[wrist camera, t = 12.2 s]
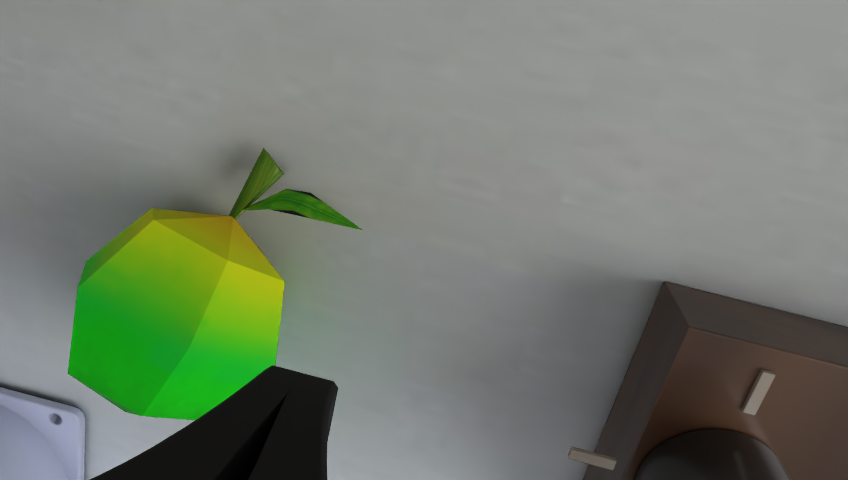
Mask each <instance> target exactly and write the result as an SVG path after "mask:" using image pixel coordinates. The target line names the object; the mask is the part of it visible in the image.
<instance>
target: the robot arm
mask: <svg viewBox="0 0 848 480" xmlns="http://www.w3.org/2000/svg"><path fill="white" fill-rule="evenodd" d="M337 391H338V387H337V386H336V384H335V383H334V381H330V380H326V379H323V378H319V377H315V376H311V375H307V374H303V373H300V372H296V371H292V370H288V369H284V368H281V367H277V366H273V365H272V366H270V367H269V368H267V369H265V370H264V371H263V372H261V373H260V374H259V375H258V376H256V377H255V378H254V379H252V380H251V381H250V382H248V383H247V384H246V385H245V386H243V387H242V388H241V389H239V390H238V391H237V392H235V393H234V394H232V395H231V396H230V397H228V398H227V399H226V400H224V401H223V402H221V403H220V404H219V405H217V406H216V407H214V408H213V409H211V410H210V411H208V412H207V413H206V414H204V415H203V416H201V417H200V418H198V419H197V420H195V421H194V422H192V423H191V424H189V425H188V426H186V427H185V428H183V429H181V430H180V431H178V432H176V433H175V434H173V435H172V436H170V437H168V438H167V439H165V440H163V441H162V442H160V443H158V444H157V445H155V446H154V447H152V448H150V449H148V450H147V451H145V452H143V453H141V454H139V455H138V456H136V457H134V458H132V459H130V460H128V461H127V462H125V463H123V464H121V465H119V466H117V467H115V468H113V469H111V470H109V471H107V472H105V473H103V474H101V475H99V476H97V477H95V478H92V479H90V480H327V441H328V436H329V431H330V426H331V421H332V416H333V411H334V406H335V401H336V396H337ZM58 415H59V416H60V417H61V418H60V417H58ZM84 465H85V416H84V414H83V413H82V411H80V410H79V409H78V408H75V407H73V406H69V405H65V404H61V403H58V402H54V401H50V400H46V399H43V398H39V397H35V396H31V395H28V394H24V393H20V392H16V391H13V390H9V389H5V388H1V387H0V480H84Z"/></svg>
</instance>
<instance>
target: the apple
mask: <svg viewBox="0 0 848 480" xmlns="http://www.w3.org/2000/svg"><path fill="white" fill-rule="evenodd" d="M283 174H284V173H283V172H282V170H281V169H280V168H279V167H278V165H277V164H276V163H275V162H274V160H273V159H272V158H271V156H270V155H269V154H268V153H267V151H266V150H265V149H264V148H263V150H262V152H261V154H260V156H259V158H258V160H257V162H256V163H255V165H254V167H253V169H252V171H251V173H250V175H249V177H248V179H247V181H246V183H245V185H244V187H243V189H242V191H241V193H240V195H239V197H238V199H237V201H236V203H235V205H234V206H233V208H232V210H231V212H230V214H229V216H224V215H214V214H204V213H194V212H184V211H173V210H163V209H153V208H151V209H150V210H149V211H147V212H146V213H145V214H144V215H142V216H141V217H140V218H139V219H138V220H136V221H135V222H134V223H133V224H131V225H130V226H129V227H128V228H126V229H125V230H124V231H123V232H121V233H120V234H119V235H118V236H117V237H115V238H114V239H113V240H112V241H110V242H109V243H108V244H107V245H105V246H104V247H103V248H102V249H101V250H99V251H98V252H97V253H96V254H94V255H93V256H92V257H91V258H89V259H88V260H87V261H86V263H85V266H84V269H83V273H82V276H81V279H80V282H79V285H78V290H77V299H76V307H75V316H74V324H73V333H72V341H71V350H70V359H69V367H68V374H69V375H71V376H72V377H74V378H75V379H77V380H78V381H80V382H81V383H83V384H84V385H86V386H87V387H89V388H90V389H92V390H93V391H95V392H96V393H98V394H99V395H101V396H102V397H104V398H105V399H107V400H108V401H110V402H111V403H113V404H114V405H116V406H117V407H119V408H120V409H122V410H123V411H125V412H128V413H132V414H136V415H140V416H148V417H161V418H174V419H187V420H197V419H198V418H200V417H201V416H203V415H204V414H206V413H207V412H208V411H210V410H211V409H213V408H214V407H216V406H217V405H219V404H220V403H221V402H223V401H224V400H226V399H227V398H228V397H230V396H231V395H232V394H234V393H235V392H237V391H238V390H239V389H241V388H242V387H243V386H245V385H246V384H247V383H248V382H250V381H251V380H252V379H254V378H255V377H256V376H258V375H259V374H260V373H261V372H263V371H264V370H265V369H267V368H269V367H270V366H272V365H273V366H275V363H276V355H277V346H278V337H279V328H280V320H281V311H282V302H283V293H284V285H285V281H284V280H283V278H282V277H281V276H280V275H279V273H278V272H277V271H276V270H275V268H274V267H273V266H272V265H271V263H270V262H269V261H268V260H267V258H266V257H265V256H264V255H263V253H262V252H261V251H260V249H259V248H258V247H257V246H256V244H255V243H254V242H253V241H252V239H251V238H250V237H249V236H248V234H247V233H246V232H245V231H244V229H243V228H242V227H241V226H240V224H239V223H238V222H237V221H236V219H237V218H238V217H239V216H240V215H241V214H242V213H243V212H244V211H245V210H260V209H270V210H275V211H280V212H284V213H289V214H294V215H298V216H303V217H307V218H311V219H316V220H320V221H324V222H329V223H333V224H338V225H342V226H346V227H351V228H355V229H360V230H362V229H361V228H359V227H358V226H357V225H355V224H354V223H352V222H351V221H349V220H348V219H347V218H345V217H344V216H342V215H341V214H340V213H338V212H337V211H335V210H334V209H333V208H331V207H330V206H328V205H327V204H326V203H324V202H323V201H321V200H320V199H318V198H317V197H316V196H314V195H313V194H311V193H308V192H302V191H295V190H289V189H285V190H283V191H281V192H279V193H277V194H275V195H272V196H270V197H268V198H266V199H264V200H262V201H259V202H257V203H255V204H253V205H251V204H252V203H254V202H255V201H256V200H257V199H258V198H259V197H260V196H261V195H262V194H263V193H264V192H265V191H266V190H267V189H268V188H269V187H270V186H271V185H272V184H273V183H275V182H276V181H277V180H278V179H279V178H280V177H281V176H282V175H283ZM250 205H251V206H250Z"/></svg>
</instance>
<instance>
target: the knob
mask: <svg viewBox="0 0 848 480" xmlns="http://www.w3.org/2000/svg"><path fill="white" fill-rule="evenodd" d="M635 480H791V478H790V476H789V475H788V473H787V471H786V469H785V468H784V466H783V464H782V463H781V461H780V460H779V458H778V457H777V456H776V454H775V453H774V452H773V451H772V450H771V449H769V448H768V447H767V446H766V445H764V444H763V443H761V442H759V441H758V440H756V439H754V438H752V437H750V436H747V435H744V434H741V433H738V432H734V431H729V430H719V429H707V430H698V431H693V432H688V433H685V434H682V435H679V436H676V437H674V438H672V439H670V440H668V441H666V442H664V443H663V444H661V445H660V446H658V447H657V448H656V449H654V450H653V451H652V452H651V453H650V454H649V455H648V456H647V457H646V459H645V460H644V461H643V463H642V464H641V466H640V468H639V470H638V472H637V475H636V478H635Z"/></svg>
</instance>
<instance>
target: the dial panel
mask: <svg viewBox="0 0 848 480" xmlns="http://www.w3.org/2000/svg"><path fill="white" fill-rule="evenodd" d="M707 429H719V430H729V431H734V432H738V433H741V434H744V435H747V436H750V437H752V438H754V439H756V440H758V441H759V442H761V443H763V444H764V445H766V446H767V447H768V448H769V449H771V450H772V451H773V452H774V453H775V454H776V456H777V457H778V458H779V460H780V461H781V463H782V464H783V466H784V468H785V469H786V471H787V473H788V475H789V476H790V478H791V480H848V328H847V327H843V326H839V325H835V324H831V323H827V322H823V321H819V320H815V319H811V318H807V317H803V316H799V315H795V314H791V313H787V312H783V311H780V310H776V309H772V308H768V307H764V306H760V305H756V304H752V303H748V302H744V301H740V300H736V299H732V298H728V297H724V296H720V295H716V294H712V293H708V292H704V291H700V290H696V289H692V288H688V287H684V286H680V285H676V284H672V283H668V282H664V283H663V286H662V288H661V291H660V293H659V295H658V298H657V300H656V303H655V305H654V308H653V310H652V313H651V315H650V317H649V320H648V322H647V325H646V327H645V330H644V332H643V335H642V337H641V339H640V342H639V344H638V347H637V349H636V352H635V354H634V357H633V359H632V361H631V364H630V366H629V369H628V371H627V374H626V376H625V379H624V381H623V383H622V386H621V388H620V391H619V393H618V396H617V398H616V401H615V403H614V405H613V408H612V410H611V413H610V415H609V418H608V420H607V423H606V425H605V427H604V430H603V432H602V435H601V437H600V440H599V442H598V445H597V447H596V449H595V452H591V451H587V450H583V449H579V448H575V447H571V448H570V451H569V454H568V459H572V460H576V461H579V462H583V463H587V464H589V467H588V469H587V471H586V474H585V476H584V479H583V480H635V478H636V475H637V472H638V470H639V468H640V466H641V464H642V463H643V461H644V460H645V459H646V457H647V456H648V455H649V454H650V453H651V452H652V451H653V450H654V449H656V448H657V447H658V446H660V445H661V444H663V443H664V442H666V441H668V440H670V439H672V438H674V437H676V436H679V435H682V434H685V433H688V432H693V431H698V430H707Z"/></svg>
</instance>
